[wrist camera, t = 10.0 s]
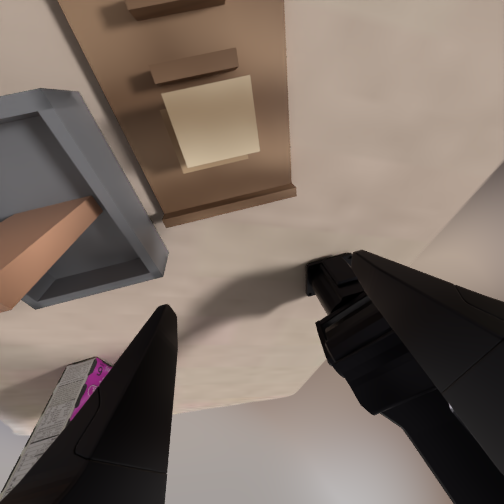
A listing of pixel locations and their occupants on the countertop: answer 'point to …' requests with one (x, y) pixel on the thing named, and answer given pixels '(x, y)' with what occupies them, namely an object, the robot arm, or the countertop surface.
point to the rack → (186, 76)
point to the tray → (74, 195)
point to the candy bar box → (58, 413)
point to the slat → (39, 243)
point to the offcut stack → (212, 123)
